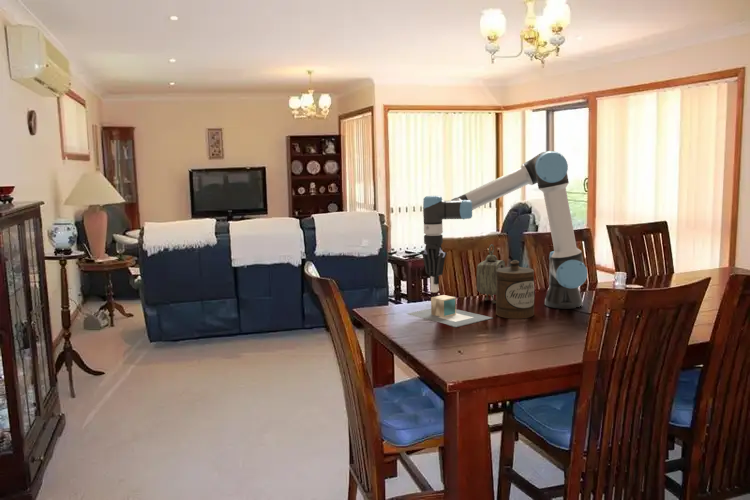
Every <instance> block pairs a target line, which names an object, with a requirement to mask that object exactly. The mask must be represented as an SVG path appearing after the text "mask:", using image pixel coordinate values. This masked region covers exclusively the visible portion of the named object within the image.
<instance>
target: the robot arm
mask: <svg viewBox="0 0 750 500" xmlns="http://www.w3.org/2000/svg"><path fill="white" fill-rule="evenodd" d="M568 166H569V164H568V161H567V159H566V158H565V156H564V155H563V154H561V152H557V151H555V150H547V151H543V152H540V153H539V154H537V155H535V156H534V157H532V158H531V159H529V160H528V161H526V162H524V163H522V164H521V166H520V168H517V169H515V170H512V171H510V172H509V173H506V174H504V175H501V176H500V177H497V178H496V179H493V180H491V181H489V182H487V183H485V184H482V185H481V186H479V187H476V188H474V189H472V190H470V191H468V192H466V193H464V194H461V195H459V196H457V197H454V198H452V199H450V200H443V198H442V196H441V195H427V196H424V197H423V202H422V203H423V205H422V206H423V207H422V209H423V210H422V215H423V234H424V236H423V243H424V245H425V247H424V249H423V250H421V251H420V253H421V256H422V260H423V263H424V270H425V273H426V275H428V276H429V283H430V293H438V292H439V283H440V282H439V281H440V278H439V277H440V276H443V273H444V266H445V259H446V256H447V252H444V251H443V247H442V245H443V242H444V238H443V237H444V236H443V232H444V231H443V230H444V229H443V220H467V219H468V220H469V219H472V218H473V211H474V210H476V209H478V208H480V207H482V206H484V205H487V204H488V203H491V202H493V201H495V200H497V199H499V198H501V197H504V196H507V195H508V194H511V193H512V192H514V191H516V190H517V191H518V189H521V188H523V187H525V186H528V185H530V186H533V185H535V184H537V186H538V187H537V188H538V190H539V191H541V192H542V193H543V198H544V203H545V208H546V213H547V219H548V225H549V230H550V234H551V240H552V244H553V251H550V252H549V257H548V260H549V264H548V265H549V266H548V267H549V272H548V274H549V278H548V281H549V282H548V284H549V286H548V289H547V292H546V295H545V299H544V305H545V306H546V307H547V308H548V307H549V308H553V309H564V310H565V309H566V310H568V309H577V308H576V307H579V306H581V305H582V306H583V299H582V295H581V292H580V289H579V287H581V286H583V284H584V283H586V280H587V278H588V268H587V266H586V265H585V263H584V257H583V252H582V250H581V249H579V248H578V247H577V242H576V237H575V232H574V225H573V220H572V215H571V210H570V209H571V208H570V205H569V204H570V203H569V198H568V194H567V186H568V184H570V182H569V177H568V171H569V169H568V168H569V167H568ZM582 306H581V307H582ZM579 308H580V307H579Z"/></svg>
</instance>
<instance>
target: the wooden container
mask: <svg viewBox="0 0 750 500" xmlns="http://www.w3.org/2000/svg"><path fill="white" fill-rule="evenodd" d="M534 276H535V271H534V269H533V268H529V267H525V266H524V267H523V266H520V261H519V260H517V259H512V261H510V266H507V267H506V266H505V267H504V268H499V269H497V271H496V278H497V279H496V295H495V301H496V303H495V314H496V316H498V317H500V318H504V319H511V320H512V319H513V320H522V319H528V318H532V317H534V315H535V279H534V278H535V277H534Z"/></svg>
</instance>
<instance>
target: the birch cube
mask: <svg viewBox="0 0 750 500" xmlns="http://www.w3.org/2000/svg"><path fill="white" fill-rule="evenodd" d="M430 309H431V314H432V315H436V316H440V317H447V316H451V315H456V309H457V297H456V296H450V295H445V294H442V295H436V296H431V297H430Z"/></svg>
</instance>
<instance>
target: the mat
mask: <svg viewBox="0 0 750 500" xmlns="http://www.w3.org/2000/svg"><path fill="white" fill-rule="evenodd" d="M407 315H409V316H412V317H418V318H421V319H424V320H429V321H433V322H437V323H441V324H444V325H446V326H450V327H453V328H459V327H464V326H468V325H471V324H475V323H479V322H480V323H481V322H482V321H488V320H492V319H493V317H491V316H487V315H483V314H479V313H474V312H470V311H466V310H461V309H457V308H456V315H451V316H447V317H440V316H436V315H432V314H431V308H428V309H422V310H418V311H412V312H409V313H407Z"/></svg>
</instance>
